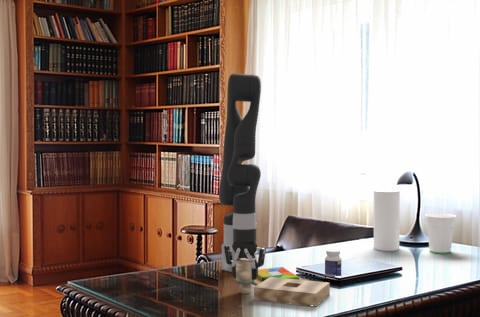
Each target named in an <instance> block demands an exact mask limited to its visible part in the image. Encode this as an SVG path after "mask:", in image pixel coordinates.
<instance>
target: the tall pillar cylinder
mask: <svg viewBox="0 0 480 317" xmlns="http://www.w3.org/2000/svg"><path fill="white" fill-rule="evenodd" d="M400 192H401V191H400V190H399V189H393V188H391V189H390V188H379V189H374V190H373V249H374V250H376V251H383V252H393V251H399V250H400V197H401V196H400Z"/></svg>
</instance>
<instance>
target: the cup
mask: <svg viewBox="0 0 480 317" xmlns="http://www.w3.org/2000/svg"><path fill="white" fill-rule="evenodd" d="M424 220H425V221H426V229H427V239H428V247H429V252H430V253H432V254H436V255H438V254H441V255H446V254H451V252H452V244H453V237H454V228H455V222H456V220H457V215H455V214H452V213H444V212H441V213H440V212H438V213H437V212H436V213H435V212H434V213H432V212H431V213H425V215H424Z"/></svg>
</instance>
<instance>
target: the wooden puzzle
mask: <svg viewBox="0 0 480 317" xmlns="http://www.w3.org/2000/svg"><path fill="white" fill-rule="evenodd" d="M270 277H276V278H286V279H297V280H307V281H310V280H309V279H307V278H302V277H301V276H298V275H296V274H295V273H293V272H292V271H290V270H288V269H287V268H285V267H284V266H278V267H272V268H271V267H270V268H269V267H268V268H261V269H259V268H258V277H257V278H256V279H255V280H254V283H253V284H254V285H255V286H256V285H258V284H260V283H261V282H263V281H265V280H266V279H268V278H270Z"/></svg>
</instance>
